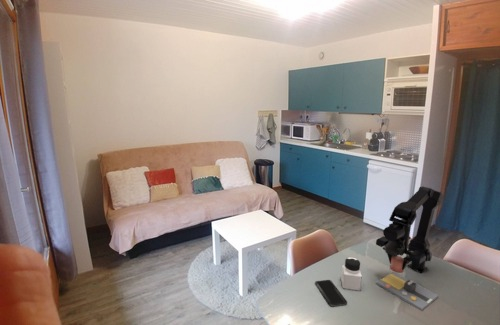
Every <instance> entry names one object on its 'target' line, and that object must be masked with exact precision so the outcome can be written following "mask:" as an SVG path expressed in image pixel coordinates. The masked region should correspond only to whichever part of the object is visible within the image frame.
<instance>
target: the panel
mask: <svg viewBox="0 0 500 325" xmlns="http://www.w3.org/2000/svg"><path fill="white" fill-rule="evenodd" d="M408 280H409V279H408V278H407V277H405V276H403V275H400V273H396V272H394V271H392V272H390V273H388V274H387V275H385V276H384V277H382V278H380V279H379V280H377V281H376V282H375V284H376V285H377V286H378V287H380V288H382V289H384V290H385V291H387V292H389V293H391V294H392V295H393V296H396V297H397V298H399V299H401V300H402V301H404V302H406V303H408V304H409V305H410V306H413V307H414V308H416V309H417V310H419V311H421V312H422V311H424V310H425V309H426V308H428V307H429V306H430V304H432V303H433V302H435V301H436V299H438V298H439V294H437V293H435V292H432V291H431V290H430V289H428V288H425V287H424V286H422V285H420V284H418V283H416V289H415V291H413V292H412V293H410V292H408V291H406V290H404V284H405V282H407V281H408Z"/></svg>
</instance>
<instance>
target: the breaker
mask: <svg viewBox="0 0 500 325" xmlns="http://www.w3.org/2000/svg"><path fill="white" fill-rule="evenodd" d="M416 284H417V283H416V282H414V280H412V279H411V280H410V279H408V281H407V282H405V284H404V290H406V291H408V292H410V293H412V292H413V291H415V289H416Z"/></svg>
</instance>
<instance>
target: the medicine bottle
mask: <svg viewBox="0 0 500 325" xmlns="http://www.w3.org/2000/svg"><path fill="white" fill-rule="evenodd" d="M360 267H361V261H360V260H359V259H357V258H355V257H347V258H345V260H344V264H342V267H341V274H340V275H341V276H340V281H341V284H342V288H343V289H347V290H352V291H353V290H354V291H358V292H359V291H361V287H362V277H363V275H362V272H361V269H360Z"/></svg>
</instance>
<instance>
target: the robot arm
mask: <svg viewBox="0 0 500 325" xmlns="http://www.w3.org/2000/svg"><path fill="white" fill-rule="evenodd" d="M444 197H445V196H444V194H442V192H441V191H438V190H435V189H433V188H432V187H431V188H430V187H427V186H424V185H423V186H419V187H418V190H417V191H416V192H415V193H414V194H413V195H411V197H409V199H408V200H407V201H402V202H400V203H399V204H397V205H396V206H394V209H393V210H392V212H391V215H390V217H389V219H388V221H390V223H389V225H388V226H386V227H385V228H384V229H383V231H382V232H383V233H382V234H383V236H380V237H379V238H377V239H376V240H375V245H376V246H378V247H380V248H381V249H382V250H384V252H385V253H386V254H387V257H388V261H389V265H391V259H392V256H394V257H396V256H400V257H402V256H403V255H404V254H405V256H404V257H402V258H403V259H404V262H403V266H402V270H404V271H405V269H406V268H407V267H409V268H410V269H413V270H415V271H416V272H419V273H424V272H425V271H426V270H428V267H427V266H426V263H427V262H432V261H431V260H432V258H433V257H432V256H433V254H432V252H431V250H430V247H431V245H430V242H429V240H428V238H429V234H430V231H431V226H432V222H433V218H434V215H435V211H436V209H438V208H439V207H440V206H441V203H443V200H444ZM421 206H422V210H421V214H420V218H419V222H418V226H417V230H416V234H415V236H414V237H413V238H412V239H411V236H410V235H411V229H412V228H411V227H412V226H413V225H414V224H413V223H414V222H415V220H416V218H417V216H418V215H417V210H419V208H420V207H421ZM391 222H392V223H391Z"/></svg>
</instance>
